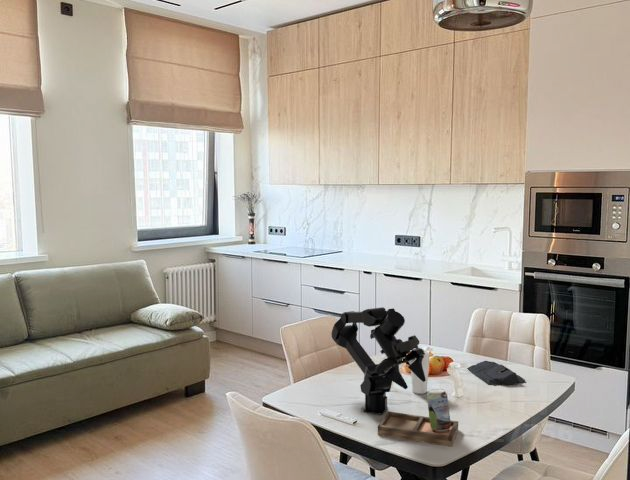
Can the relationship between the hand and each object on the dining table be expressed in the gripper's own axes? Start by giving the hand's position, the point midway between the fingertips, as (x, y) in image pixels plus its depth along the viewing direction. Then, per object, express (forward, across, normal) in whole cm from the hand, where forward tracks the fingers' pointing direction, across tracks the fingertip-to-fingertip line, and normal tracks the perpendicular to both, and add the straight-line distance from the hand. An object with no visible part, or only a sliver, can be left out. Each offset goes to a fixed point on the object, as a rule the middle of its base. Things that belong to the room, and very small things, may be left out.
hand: (415, 384), depth 177 cm
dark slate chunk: (+5, +61, +15) cm, 63 cm away
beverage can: (+14, +1, +3) cm, 15 cm away
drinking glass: (-2, +26, +22) cm, 34 cm away
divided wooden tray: (+12, -2, +7) cm, 14 cm away
